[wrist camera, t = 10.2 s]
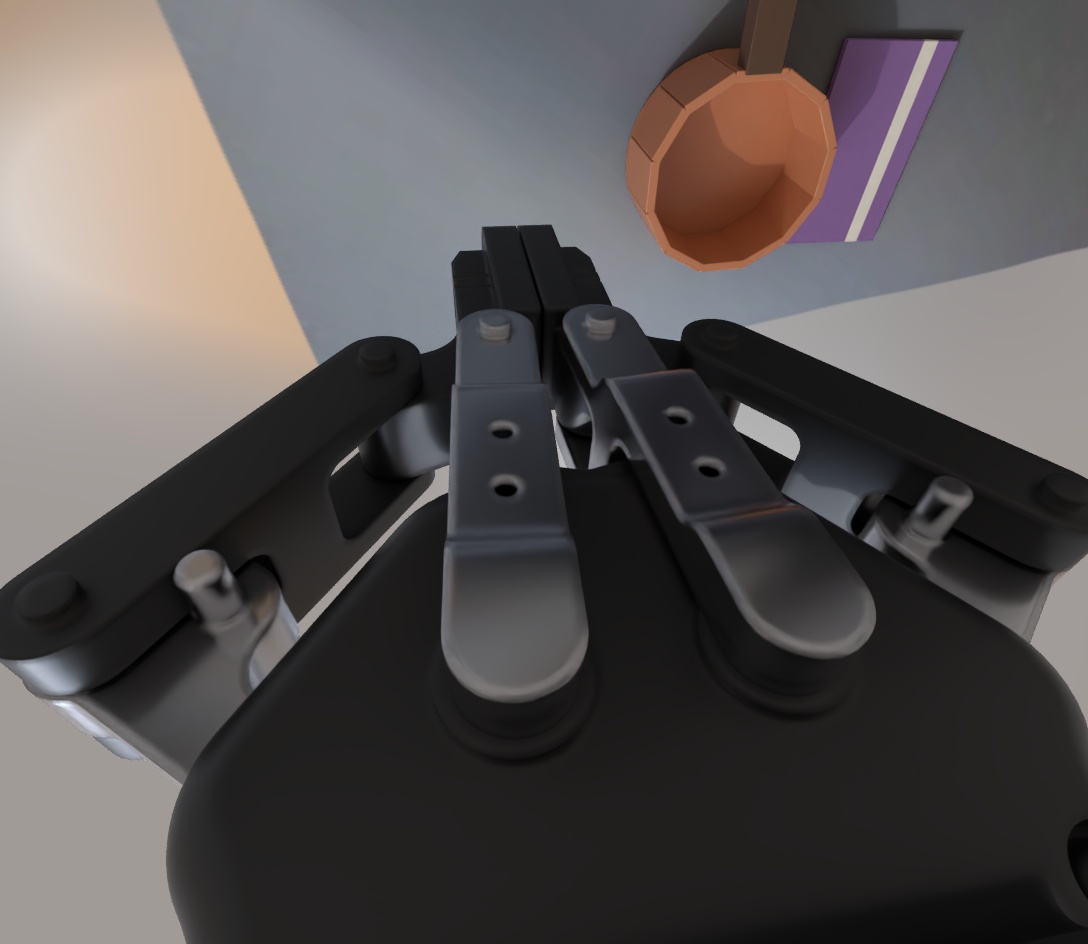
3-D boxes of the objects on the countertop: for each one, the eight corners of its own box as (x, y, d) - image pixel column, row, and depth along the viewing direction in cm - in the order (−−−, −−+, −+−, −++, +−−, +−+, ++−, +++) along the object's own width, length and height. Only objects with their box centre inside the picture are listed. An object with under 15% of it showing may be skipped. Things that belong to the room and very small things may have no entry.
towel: (844, 37, 32) (848, 39, 32) (954, 39, 33) (959, 40, 33) (779, 241, 40) (782, 244, 39) (869, 238, 41) (872, 240, 40)
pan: (649, -137, 26) (683, -135, 23) (866, -141, 27) (928, -141, 24) (619, 243, 38) (639, 279, 35) (770, 230, 39) (803, 263, 36)
